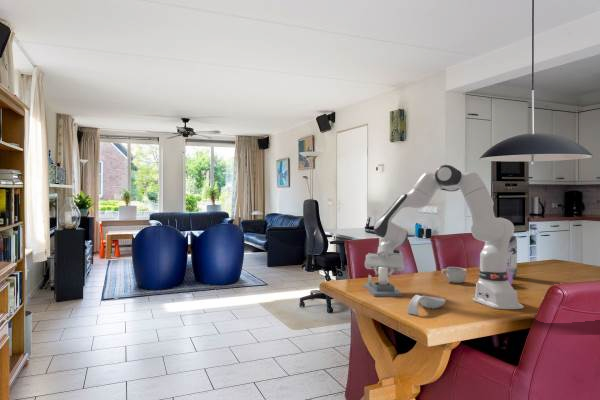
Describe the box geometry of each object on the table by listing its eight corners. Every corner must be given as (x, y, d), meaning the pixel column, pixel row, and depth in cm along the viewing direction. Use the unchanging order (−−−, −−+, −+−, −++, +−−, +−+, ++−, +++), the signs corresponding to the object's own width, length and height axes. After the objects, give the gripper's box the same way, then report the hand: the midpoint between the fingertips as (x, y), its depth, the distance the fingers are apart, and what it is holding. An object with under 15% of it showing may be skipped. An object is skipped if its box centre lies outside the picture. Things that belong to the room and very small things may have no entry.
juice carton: (500, 278, 246) (501, 233, 246) (498, 275, 256) (498, 232, 256) (517, 279, 243) (517, 234, 243) (514, 276, 253) (514, 232, 253)
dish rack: (402, 296, 200) (402, 283, 200) (374, 296, 199) (374, 283, 199) (388, 285, 224) (388, 273, 224) (363, 285, 223) (363, 274, 223)
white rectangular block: (389, 287, 208) (389, 267, 208) (382, 288, 206) (382, 268, 206) (383, 285, 212) (384, 266, 212) (376, 286, 210) (376, 267, 210)
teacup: (463, 280, 239) (463, 266, 239) (468, 284, 228) (469, 270, 228) (438, 279, 240) (438, 266, 240) (443, 283, 229) (443, 269, 229)
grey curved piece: (424, 302, 190) (425, 286, 190) (449, 307, 182) (449, 290, 182) (399, 312, 172) (400, 295, 172) (426, 318, 164) (426, 300, 164)
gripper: (365, 249, 219) (362, 270, 210) (404, 251, 212) (402, 273, 203) (366, 256, 223) (363, 277, 214) (405, 258, 216) (403, 280, 207)
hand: (383, 275), depth 209 cm, fingers closed on white rectangular block, 5 cm apart
